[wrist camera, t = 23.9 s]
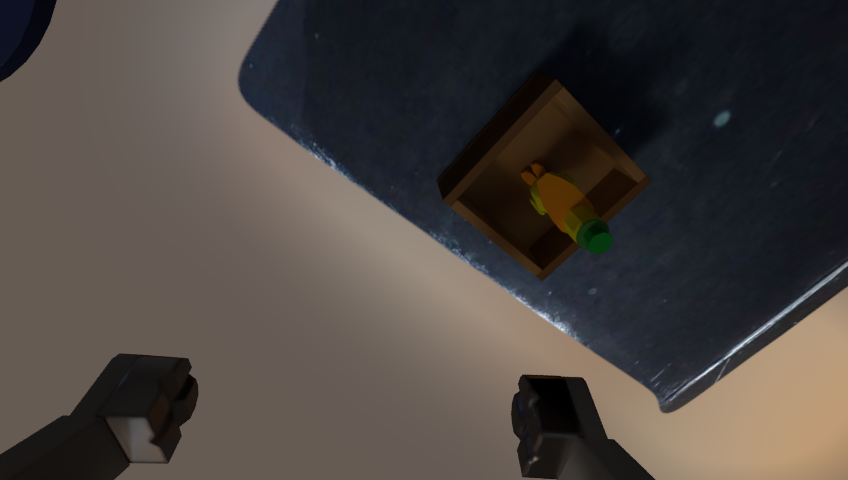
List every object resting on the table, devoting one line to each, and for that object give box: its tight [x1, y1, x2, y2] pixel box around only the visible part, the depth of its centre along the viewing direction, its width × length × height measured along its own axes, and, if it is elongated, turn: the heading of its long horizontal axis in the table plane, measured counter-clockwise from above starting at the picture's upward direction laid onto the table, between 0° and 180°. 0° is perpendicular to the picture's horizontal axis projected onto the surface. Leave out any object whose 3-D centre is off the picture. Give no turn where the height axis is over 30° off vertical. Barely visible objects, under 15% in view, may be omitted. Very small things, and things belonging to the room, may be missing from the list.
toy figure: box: [521, 161, 613, 254], centre depth 31 cm, size 7×4×12 cm, turn 43°
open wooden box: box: [437, 72, 652, 281], centre depth 35 cm, size 12×12×5 cm
